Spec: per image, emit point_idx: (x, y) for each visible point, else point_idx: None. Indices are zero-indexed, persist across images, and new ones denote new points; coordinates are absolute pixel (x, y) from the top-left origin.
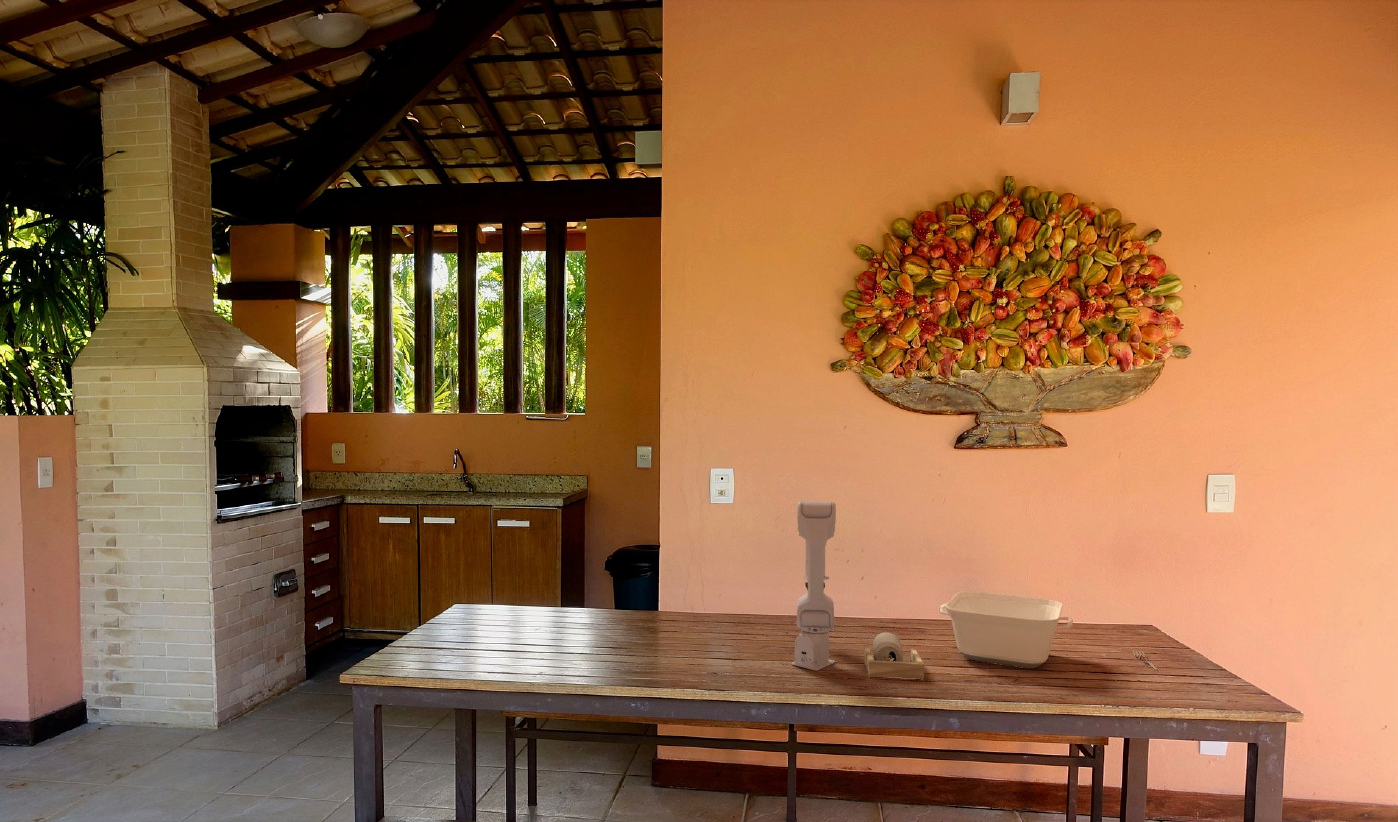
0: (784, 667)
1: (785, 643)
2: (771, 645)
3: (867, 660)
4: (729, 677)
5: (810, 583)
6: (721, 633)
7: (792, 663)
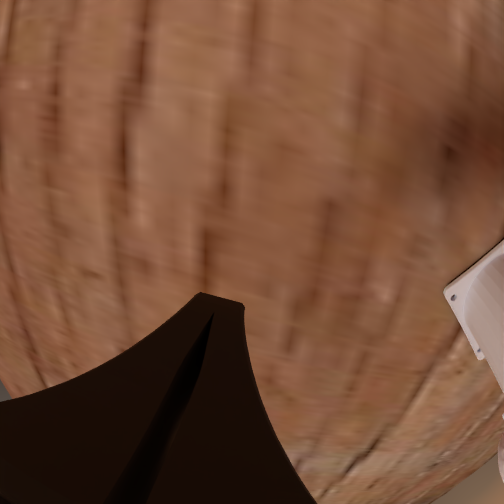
0: (481, 372)
1: None
2: (262, 369)
3: None
4: (467, 449)
5: None
6: None
7: (483, 358)
